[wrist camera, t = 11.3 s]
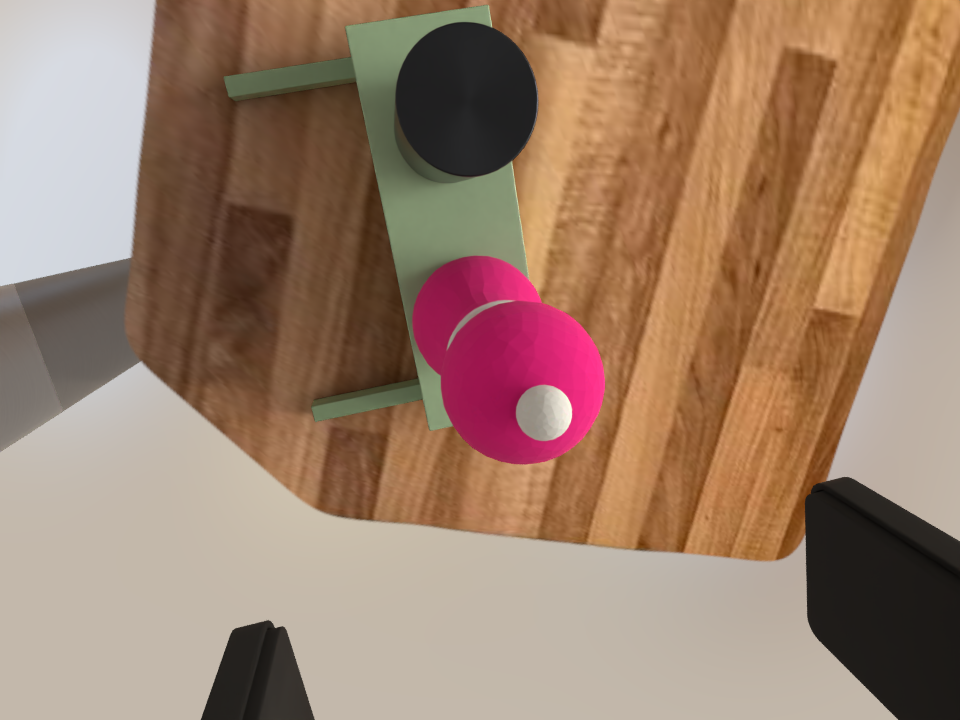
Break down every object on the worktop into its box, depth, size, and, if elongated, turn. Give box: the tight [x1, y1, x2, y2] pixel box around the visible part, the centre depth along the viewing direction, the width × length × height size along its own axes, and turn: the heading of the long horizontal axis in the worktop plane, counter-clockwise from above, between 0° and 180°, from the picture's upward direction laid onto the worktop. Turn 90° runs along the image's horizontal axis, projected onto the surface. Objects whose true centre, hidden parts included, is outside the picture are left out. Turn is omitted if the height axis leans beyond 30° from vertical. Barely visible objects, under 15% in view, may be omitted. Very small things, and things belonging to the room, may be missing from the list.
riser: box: [224, 5, 529, 431], centre depth 39 cm, size 16×24×7 cm, turn 10°
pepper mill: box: [412, 256, 605, 464], centre depth 28 cm, size 7×7×20 cm
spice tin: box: [394, 22, 538, 183], centre depth 30 cm, size 6×6×10 cm
